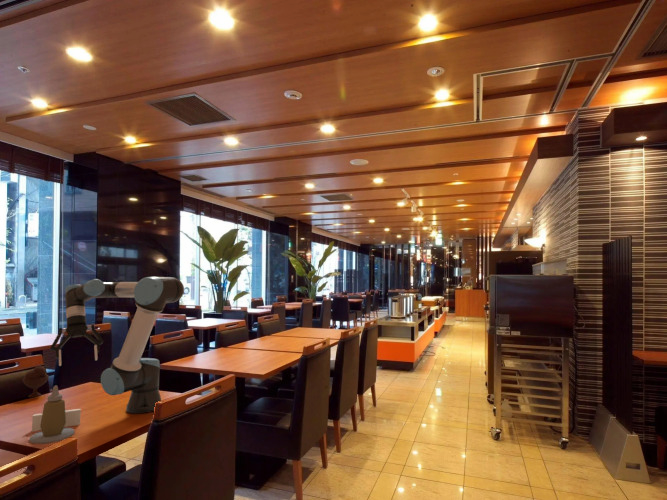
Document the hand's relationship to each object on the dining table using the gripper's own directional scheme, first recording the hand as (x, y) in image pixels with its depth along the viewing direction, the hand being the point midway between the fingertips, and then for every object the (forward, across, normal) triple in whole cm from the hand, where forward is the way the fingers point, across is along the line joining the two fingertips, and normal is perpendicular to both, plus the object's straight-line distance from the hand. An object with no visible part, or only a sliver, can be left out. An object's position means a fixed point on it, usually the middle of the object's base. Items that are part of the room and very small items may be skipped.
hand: (78, 362), depth 177 cm
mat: (+30, +11, +11) cm, 33 cm away
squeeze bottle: (+29, +11, +11) cm, 33 cm away
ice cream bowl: (0, +16, -56) cm, 58 cm away
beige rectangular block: (+25, +9, +1) cm, 27 cm away
